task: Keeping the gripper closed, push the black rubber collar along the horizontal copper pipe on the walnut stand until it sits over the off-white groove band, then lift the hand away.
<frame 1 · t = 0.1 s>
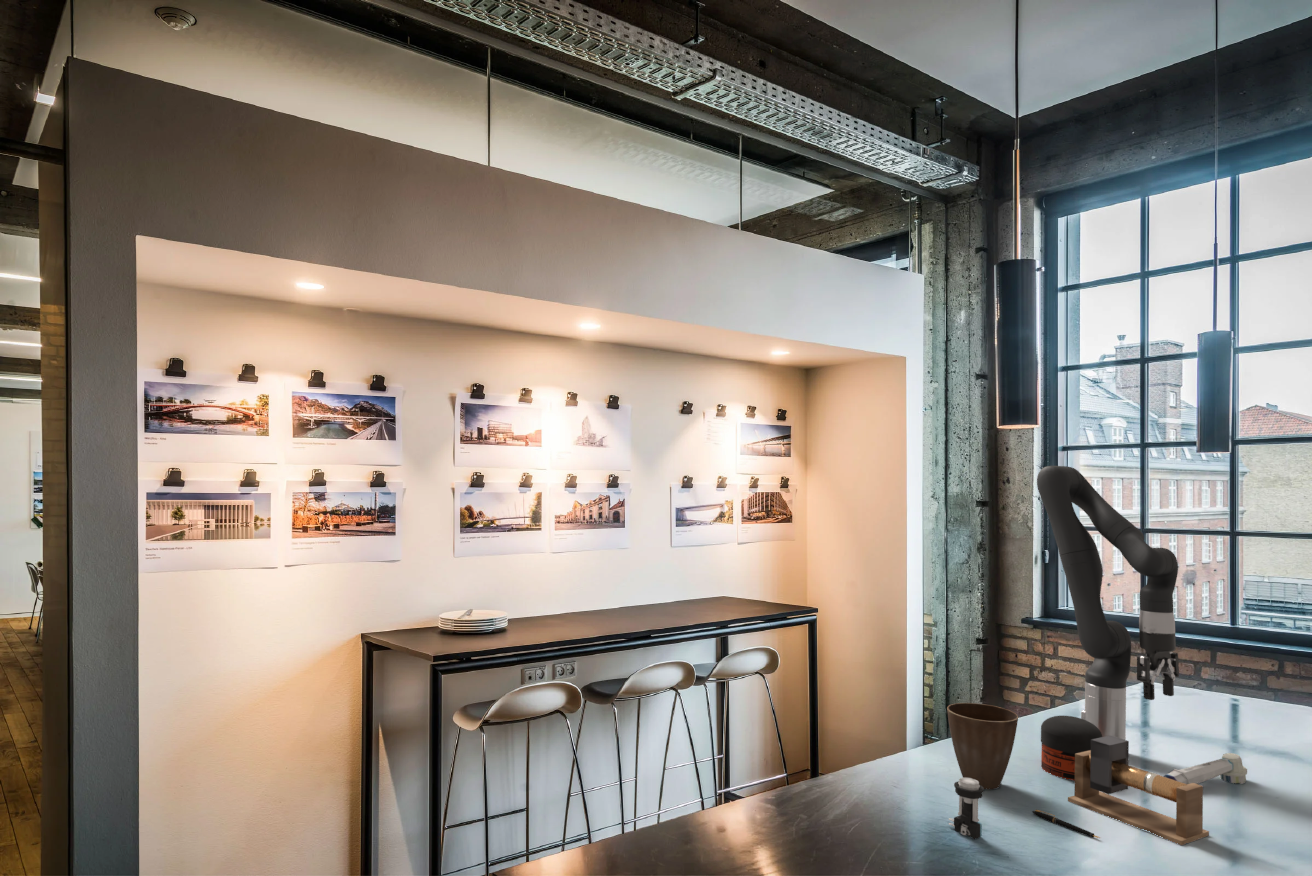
hand: (1158, 697, 197), 17 cm above the table, tool pointing down, fingers open, 8 cm apart
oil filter: (1070, 772, 193), on the table
stand: (1135, 817, 167), on the table
push button: (964, 833, 156), on the table
collar: (1109, 764, 172), point 9 cm above the table, slide at -5.5 cm
toothbrush head: (1205, 786, 187), on the table
plant pot: (980, 784, 183), on the table
pipe: (1135, 777, 167), point 8 cm above the table
fountain pen: (1065, 829, 161), on the table
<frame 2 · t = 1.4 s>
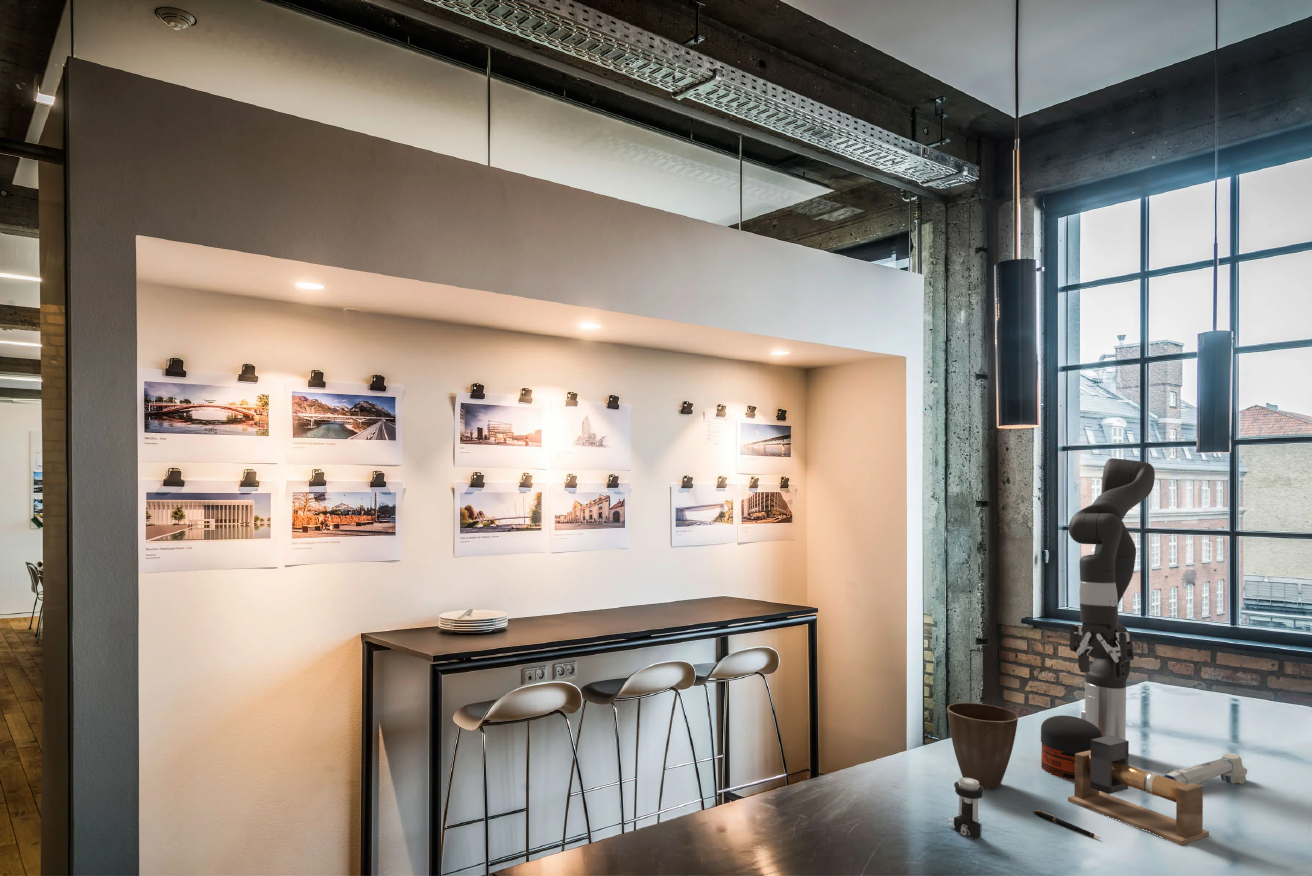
hand: (1101, 675, 181), 26 cm above the table, tool pointing down, fingers open, 8 cm apart
nothing on the table moved.
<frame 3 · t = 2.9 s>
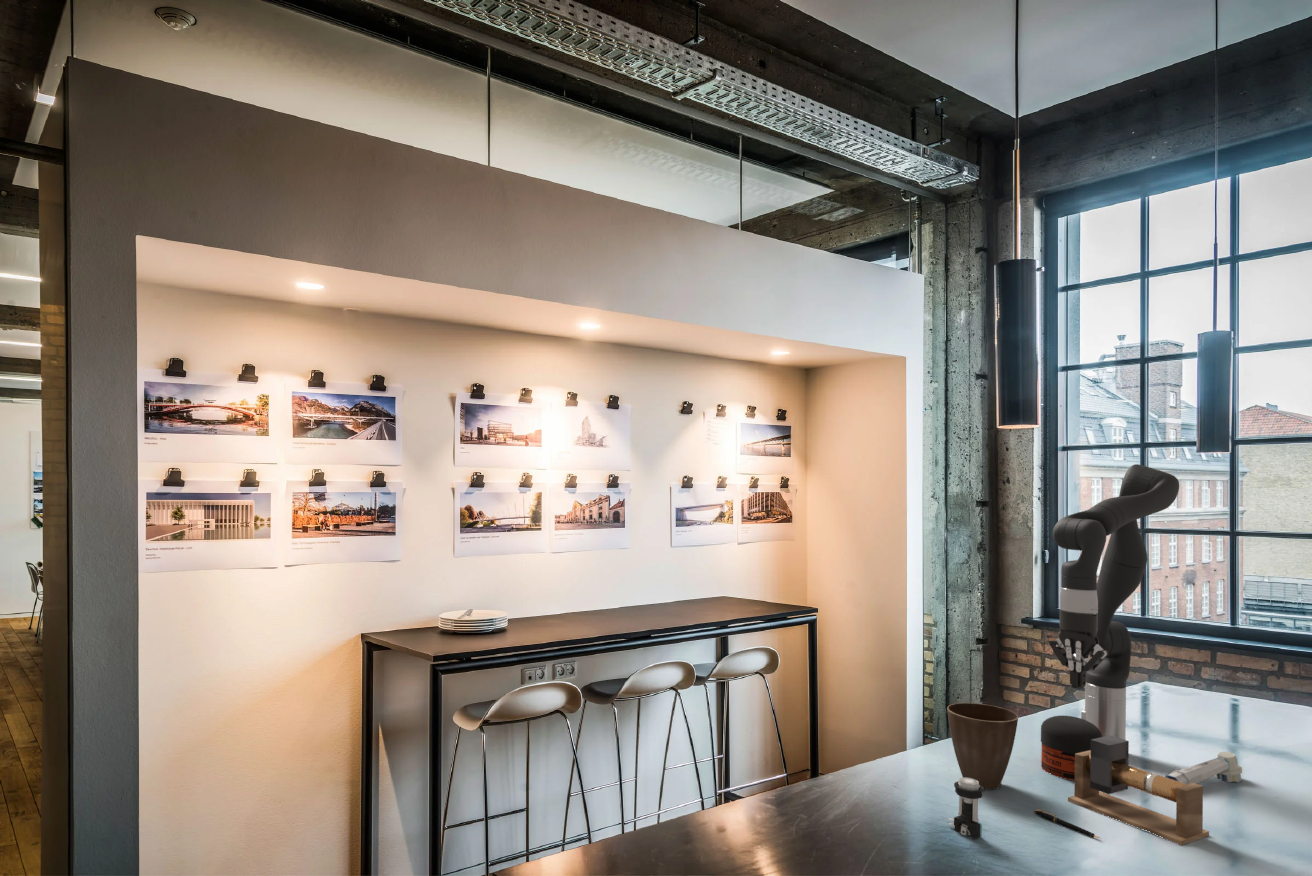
hand: (1077, 688, 179), 23 cm above the table, tool pointing down, fingers closed
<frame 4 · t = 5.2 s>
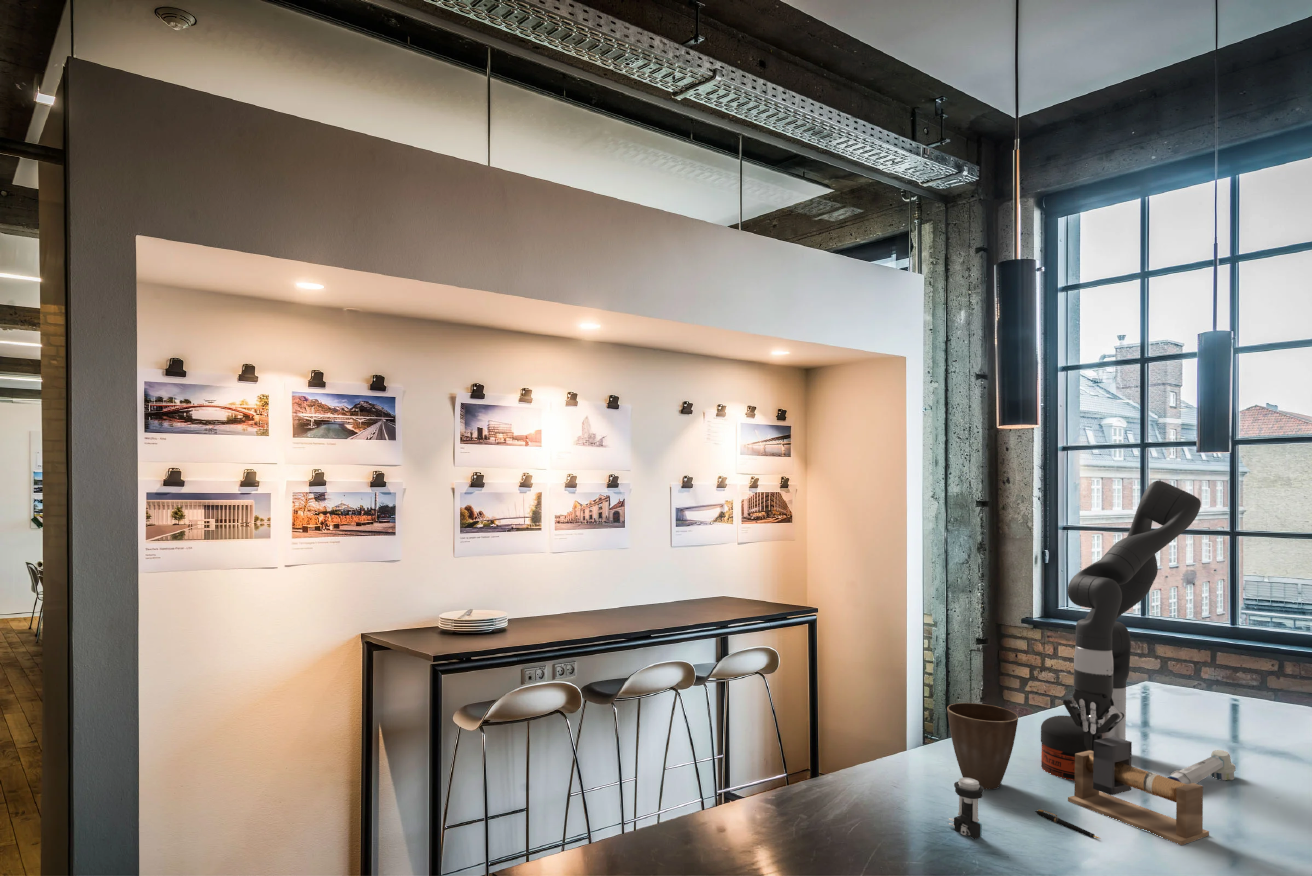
hand: (1092, 749, 175), 11 cm above the table, tool pointing down, fingers closed
collar: (1112, 765, 171), point 9 cm above the table, slide at -4.9 cm, touching gripper
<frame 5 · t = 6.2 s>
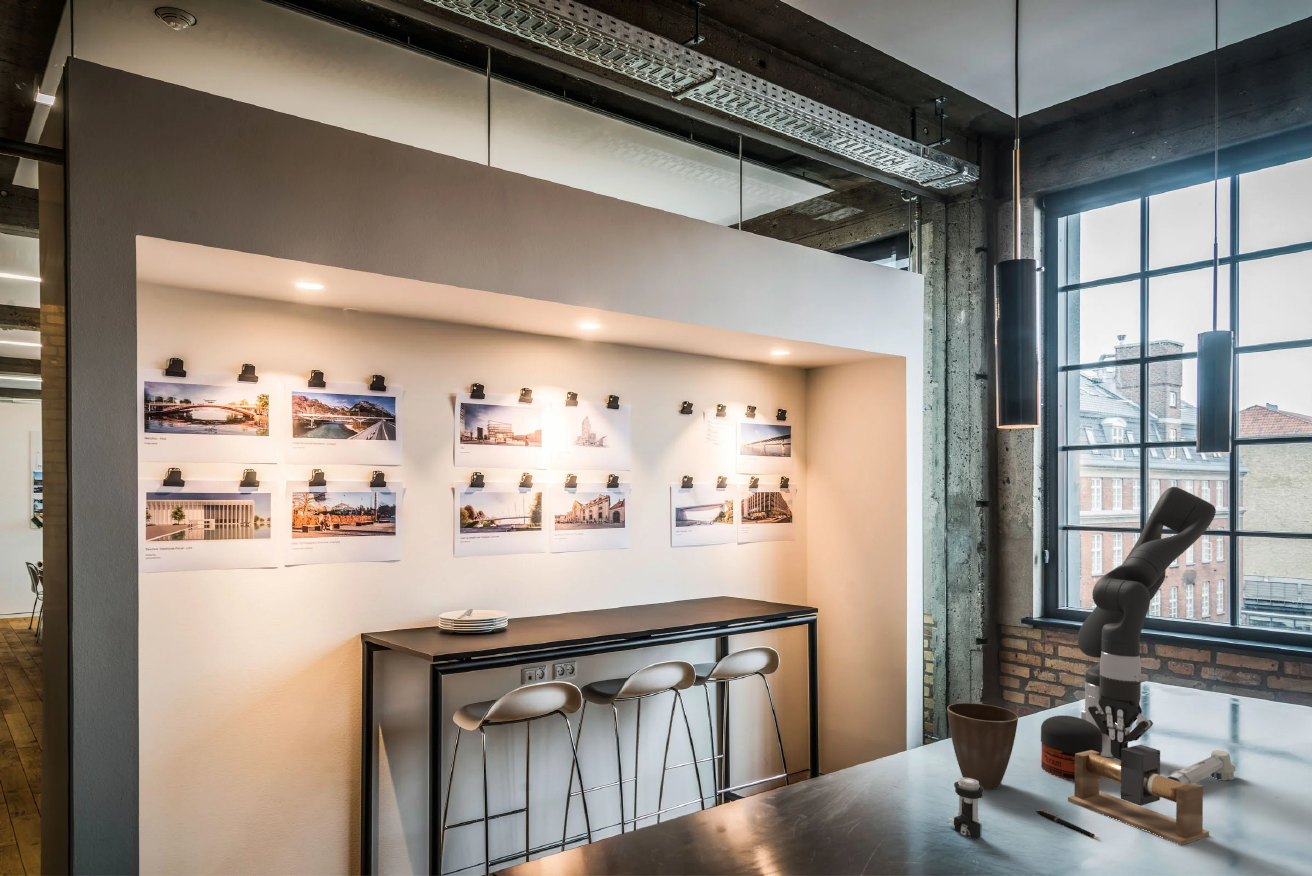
hand: (1119, 758, 170), 11 cm above the table, tool pointing down, fingers closed
collar: (1140, 774, 166), point 9 cm above the table, slide at 1.0 cm, touching gripper
everything else where it was.
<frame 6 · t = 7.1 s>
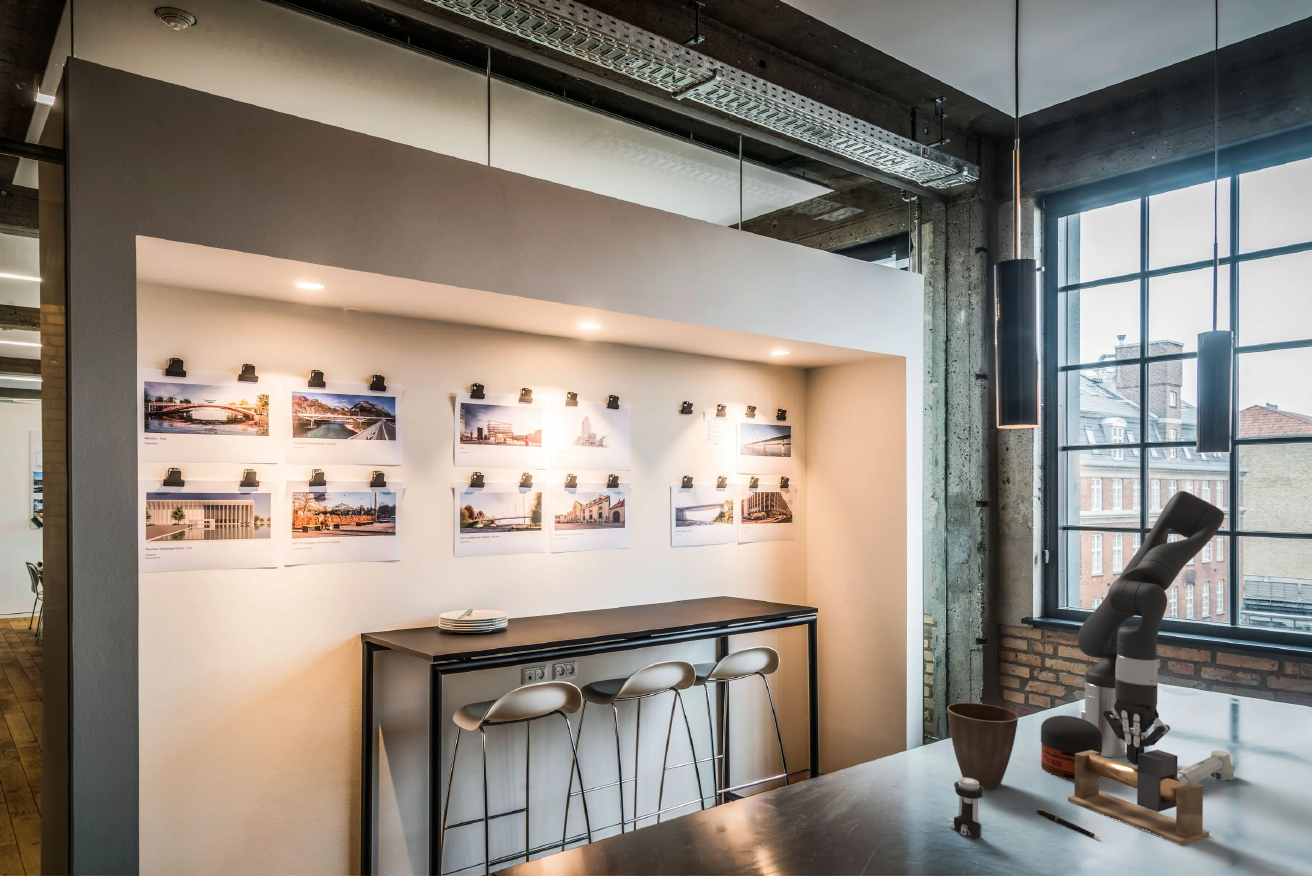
hand: (1135, 763, 167), 11 cm above the table, tool pointing down, fingers closed
collar: (1157, 780, 163), point 9 cm above the table, slide at 4.3 cm, touching gripper
everything else where it was.
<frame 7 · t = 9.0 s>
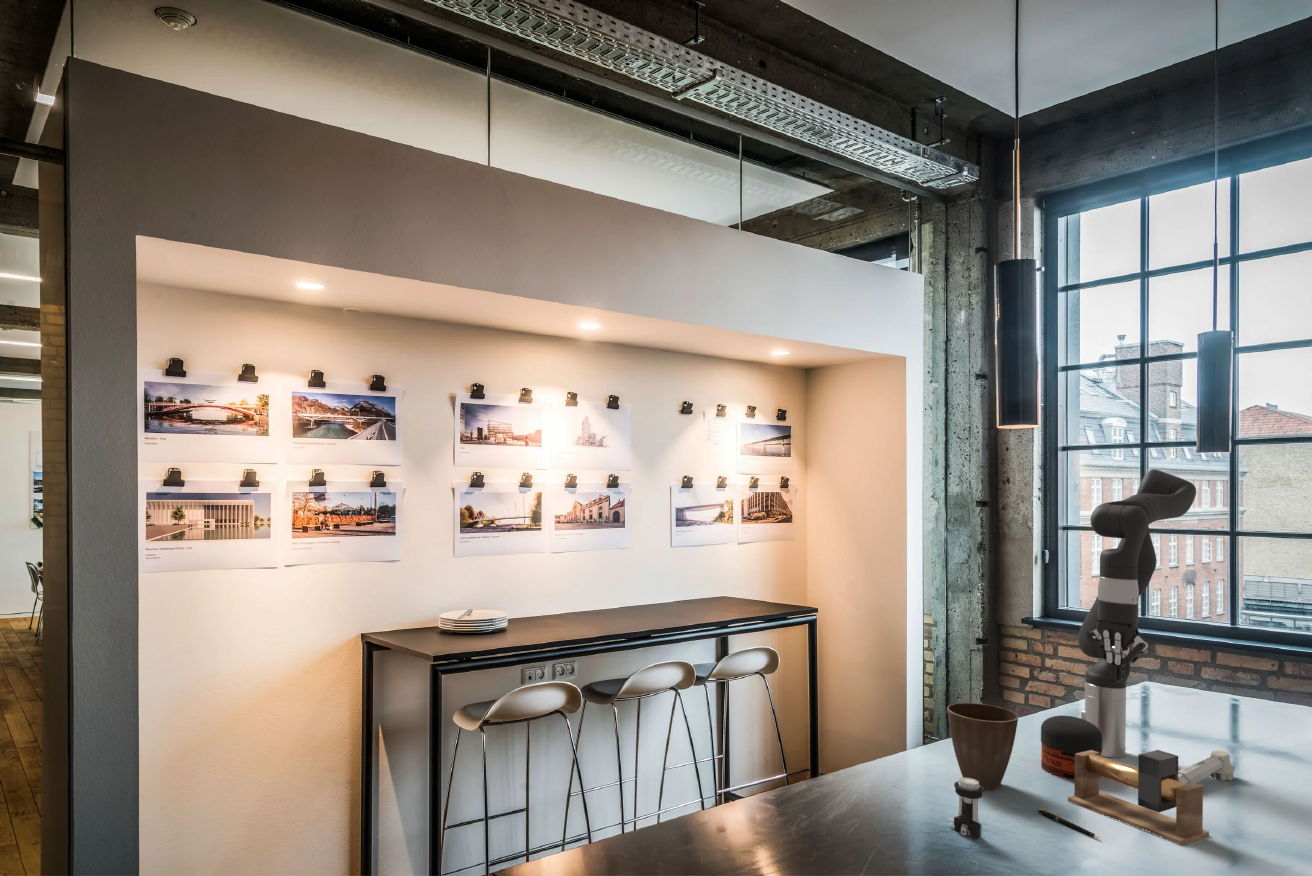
hand: (1116, 681, 172), 27 cm above the table, tool pointing down, fingers closed
collar: (1158, 780, 163), point 9 cm above the table, slide at 4.5 cm
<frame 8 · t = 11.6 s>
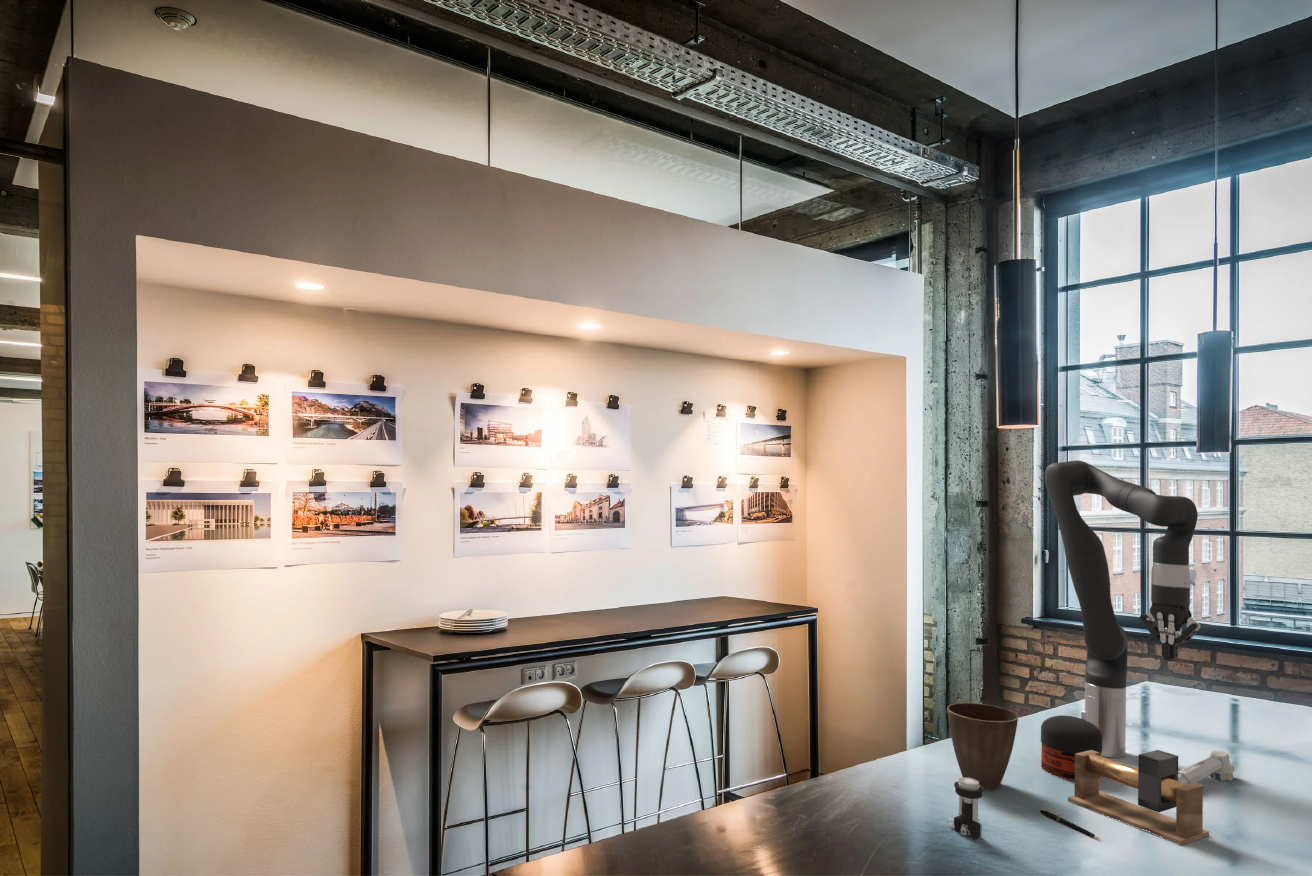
hand: (1169, 660, 184), 29 cm above the table, tool pointing down, fingers closed
at the end: collar slide at 4.5 cm; collar touching nothing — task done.
